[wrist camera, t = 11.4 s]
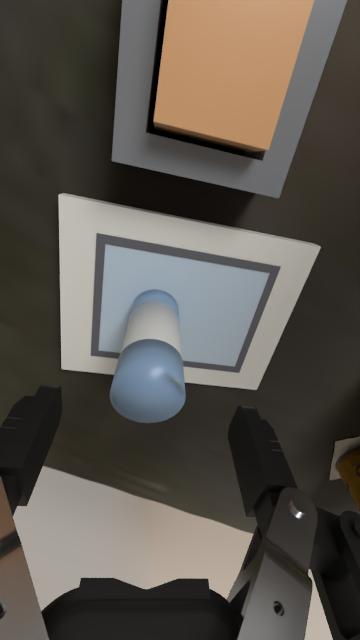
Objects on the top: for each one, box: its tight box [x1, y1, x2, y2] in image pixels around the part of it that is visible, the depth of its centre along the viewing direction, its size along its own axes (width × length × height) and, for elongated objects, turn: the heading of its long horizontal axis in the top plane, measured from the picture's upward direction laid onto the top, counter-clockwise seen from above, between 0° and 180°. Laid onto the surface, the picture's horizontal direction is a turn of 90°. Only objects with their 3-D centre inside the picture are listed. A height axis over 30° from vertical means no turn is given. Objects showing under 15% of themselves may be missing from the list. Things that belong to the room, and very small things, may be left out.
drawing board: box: [59, 193, 321, 390], centre depth 22 cm, size 14×18×1 cm
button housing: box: [112, 0, 347, 198], centre depth 14 cm, size 9×9×4 cm
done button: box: [153, 0, 314, 153], centre depth 12 cm, size 5×5×3 cm
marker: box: [110, 289, 185, 423], centre depth 17 cm, size 4×4×9 cm
